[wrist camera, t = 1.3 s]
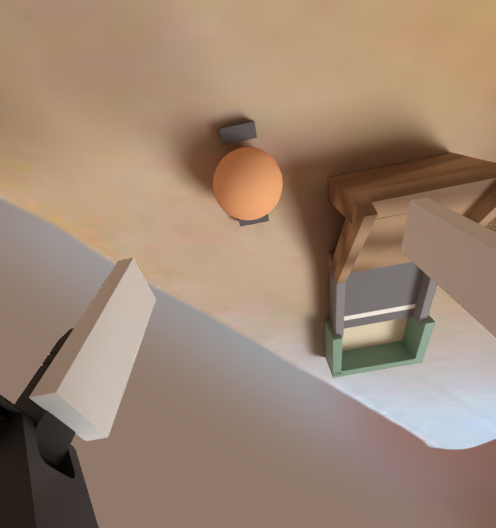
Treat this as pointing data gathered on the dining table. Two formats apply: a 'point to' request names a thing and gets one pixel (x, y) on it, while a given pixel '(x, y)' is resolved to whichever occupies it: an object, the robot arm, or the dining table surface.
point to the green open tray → (377, 345)
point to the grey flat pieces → (235, 135)
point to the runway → (380, 296)
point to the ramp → (403, 205)
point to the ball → (247, 183)
